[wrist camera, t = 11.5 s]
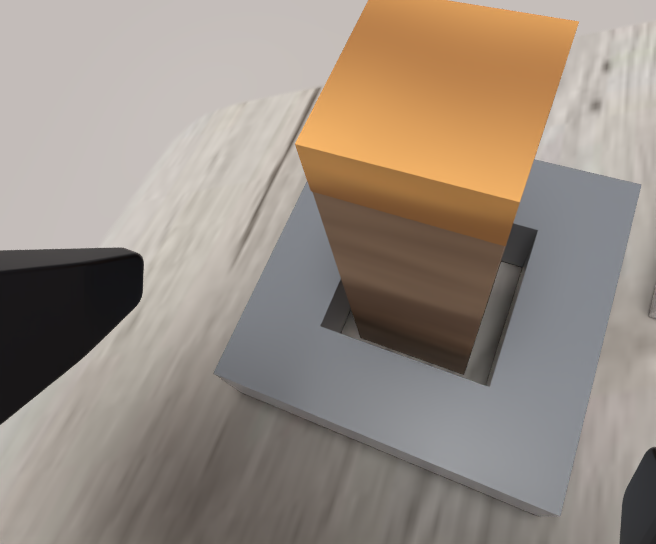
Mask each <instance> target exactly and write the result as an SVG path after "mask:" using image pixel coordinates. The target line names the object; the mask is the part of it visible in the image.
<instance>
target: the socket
mask: <svg viewBox="0 0 656 544" xmlns="http://www.w3.org/2000/svg"><path fill="white" fill-rule="evenodd" d="M640 189H641V184H637V183H632V182H628V181H624V180H620V179H615V178H611V177H607V176H603V175H598V174H594V173H590V172H586V171H581V170H577V169H573V168H569V167H564V166H560V165H556V164H552V163H547V162H543V161H539V160H535V159H534V161H533V164H532V167H531V171H530V174H529V177H528V180H527V183H526V186H525V189H524V192H523V195H522V198H521V201H520V204H519V207H518V210H517V213H516V216H515V219H514V222H513V225H512V228H511V232H510V235H509V238H508V241H507V244H506V247H505V250H504V253H503V257H502V260H501V261H503V262H507V263H510V264H514V265H517V266H520V267H523V268H522V271H521V274H520V278H519V281H518V284H517V287H516V290H515V294H514V297H513V300H512V303H511V306H510V310H509V313H508V316H507V319H506V322H505V326H504V329H503V332H502V335H501V338H500V342H499V345H498V348H497V351H496V355H495V358H494V361H493V364H492V367H491V371H490V374H489V377H488V380H487V383H486V386H485V385H482V384H479V383H477V382H474V381H471V380H468V379H465V378H463V377H460V376H457V375H454V374H452V373H449V372H446V371H443V370H440V369H438V368H435V367H432V366H429V365H427V364H424V363H421V362H418V361H415V360H413V359H410V358H407V357H404V356H402V355H399V354H396V353H393V352H390V351H388V350H385V349H382V348H379V347H377V346H374V345H371V344H368V343H365V342H363V341H360V340H357V339H354V338H352V337H349V336H346V335H343V334H340V333H341V331H342V329H343V326H344V324H345V321H346V319H347V317H348V314H349V312H350V309H351V307H350V304H349V301H348V298H347V295H346V292H345V289H344V286H343V283H342V280H341V277H340V274H339V271H338V268H337V265H336V262H335V259H334V256H333V253H332V250H331V247H330V244H329V241H328V238H327V235H326V232H325V229H324V226H323V222H322V219H321V216H320V213H319V210H318V207H317V204H316V201H315V198H314V195H313V192H312V191H311V190H310V187H309V184H308V181H307V182H306V184H305V186H304V188H303V191H302V193H301V195H300V197H299V199H298V201H297V203H296V205H295V207H294V209H293V211H292V213H291V215H290V217H289V219H288V221H287V223H286V225H285V227H284V229H283V232H282V234H281V236H280V238H279V240H278V242H277V244H276V246H275V248H274V250H273V252H272V254H271V256H270V258H269V260H268V262H267V264H266V266H265V268H264V270H263V272H262V275H261V277H260V279H259V281H258V283H257V285H256V287H255V289H254V291H253V293H252V295H251V297H250V299H249V301H248V303H247V305H246V307H245V309H244V311H243V313H242V316H241V318H240V320H239V322H238V324H237V326H236V328H235V330H234V332H233V334H232V336H231V338H230V340H229V342H228V344H227V346H226V348H225V350H224V352H223V354H222V357H221V359H220V361H219V363H218V365H217V367H216V369H215V371H214V374H215V375H216V376H218V377H219V378H221V379H222V380H224V381H225V382H227V383H228V384H229V385H231V386H232V387H234V388H235V389H237V390H238V391H239V392H241V393H244V394H246V395H249V396H251V397H253V398H256V399H258V400H261V401H263V402H265V403H268V404H270V405H273V406H275V407H277V408H280V409H282V410H285V411H287V412H289V413H292V414H294V415H297V416H299V417H301V418H304V419H306V420H309V421H311V422H313V423H316V424H318V425H321V426H323V427H325V428H328V429H330V430H333V431H335V432H337V433H340V434H342V435H345V436H347V437H349V438H352V439H354V440H357V441H359V442H361V443H364V444H366V445H369V446H371V447H373V448H376V449H378V450H381V451H383V452H385V453H388V454H390V455H393V456H395V457H397V458H400V459H402V460H404V461H407V462H409V463H412V464H414V465H416V466H419V467H421V468H424V469H426V470H428V471H431V472H433V473H436V474H438V475H440V476H443V477H445V478H448V479H450V480H452V481H455V482H457V483H460V484H462V485H464V486H467V487H469V488H472V489H474V490H476V491H479V492H481V493H484V494H486V495H488V496H491V497H493V498H496V499H498V500H500V501H503V502H505V503H508V504H510V505H512V506H515V507H517V508H520V509H522V510H524V511H527V512H529V513H532V514H534V515H536V516H561V512H562V508H563V503H564V499H565V495H566V491H567V487H568V483H569V479H570V475H571V471H572V467H573V463H574V458H575V454H576V450H577V446H578V442H579V438H580V434H581V430H582V426H583V422H584V418H585V414H586V409H587V405H588V401H589V397H590V393H591V389H592V385H593V381H594V377H595V373H596V369H597V364H598V360H599V356H600V352H601V348H602V344H603V340H604V336H605V332H606V328H607V324H608V320H609V315H610V311H611V307H612V303H613V299H614V295H615V291H616V287H617V283H618V279H619V275H620V270H621V266H622V262H623V258H624V254H625V250H626V246H627V242H628V238H629V234H630V230H631V226H632V221H633V217H634V213H635V209H636V205H637V201H638V197H639V193H640Z"/></svg>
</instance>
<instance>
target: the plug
mask: <svg viewBox="0 0 656 544" xmlns="http://www.w3.org/2000/svg"><path fill="white" fill-rule="evenodd" d="M578 23H579V22H578V21H572V20H566V19H560V18H553V17H547V16H541V15H535V14H529V13H522V12H516V11H510V10H504V9H498V8H491V7H485V6H479V5H472V4H466V3H460V2H454V1H448V0H368V2H367V4H366V6H365V8H364V10H363V12H362V14H361V16H360V18H359V20H358V22H357V24H356V26H355V27H354V29H353V31H352V33H351V35H350V37H349V39H348V41H347V43H346V45H345V47H344V49H343V51H342V53H341V55H340V57H339V59H338V61H337V63H336V65H335V67H334V69H333V71H332V72H331V75H330V76H329V78H328V80H327V82H326V84H325V86H324V88H323V90H322V92H321V94H320V96H319V98H318V100H317V102H316V104H315V106H314V108H313V110H312V112H311V114H310V116H309V118H308V119H307V121H306V123H305V125H304V127H303V129H302V131H301V133H300V135H299V137H298V139H297V141H296V143H295V146H296V149H297V152H298V155H299V157H300V160H301V163H302V166H303V169H304V172H305V175H306V178H307V181H308V184H309V187H310V190H311V191H312V192H313V195H314V198H315V201H316V204H317V207H318V210H319V213H320V216H321V219H322V222H323V226H324V229H325V232H326V235H327V238H328V241H329V244H330V247H331V250H332V253H333V256H334V259H335V262H336V265H337V268H338V271H339V274H340V277H341V280H342V283H343V286H344V289H345V292H346V295H347V298H348V301H349V304H350V307H351V310H352V313H353V317H354V320H355V323H356V326H357V329H358V332H359V335H360V338H363V339H365V340H368V341H371V342H374V343H377V344H379V345H382V346H385V347H388V348H391V349H393V350H396V351H399V352H402V353H405V354H407V355H410V356H413V357H416V358H419V359H421V360H424V361H427V362H430V363H433V364H435V365H438V366H441V367H444V368H447V369H449V370H452V371H455V372H458V373H460V374H463V375H464V373H465V370H466V367H467V364H468V361H469V358H470V355H471V351H472V348H473V345H474V342H475V339H476V336H477V333H478V330H479V327H480V324H481V321H482V318H483V315H484V312H485V309H486V306H487V303H488V300H489V297H490V294H491V291H492V287H493V284H494V281H495V278H496V275H497V272H498V269H499V266H500V263H501V260H502V257H503V253H504V250H505V247H506V244H507V241H508V238H509V235H510V232H511V228H512V225H513V222H514V219H515V216H516V213H517V210H518V207H519V204H520V201H521V198H522V195H523V192H524V189H525V186H526V183H527V180H528V177H529V174H530V171H531V167H532V164H533V161H534V158H535V155H536V152H537V149H538V146H539V143H540V140H541V137H542V134H543V131H544V128H545V125H546V122H547V119H548V116H549V113H550V110H551V107H552V104H553V100H554V97H555V94H556V91H557V88H558V85H559V82H560V79H561V76H562V73H563V70H564V67H565V64H566V61H567V57H568V54H569V51H570V48H571V45H572V42H573V39H574V36H575V33H576V29H577V26H578Z"/></svg>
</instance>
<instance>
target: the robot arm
mask: <svg viewBox="0 0 656 544" xmlns="http://www.w3.org/2000/svg"><path fill="white" fill-rule="evenodd" d="M143 271H144V261H143V258H142V256H141V255H140V254H138V253H136V252H134V251H131V250H128V249H126V248H85V249H43V250H7V251H6V250H3V251H0V425H1V424H2V423H3V422H4V421H6V420H7V419H8V418H9V417H11V416H12V415H13V414H14V413H16V412H17V411H18V410H19V409H21V408H22V407H23V406H24V405H26V404H27V403H28V402H29V401H31V400H32V399H33V398H34V397H36V396H37V395H38V394H39V393H40V392H42V391H43V390H44V389H45V388H47V387H48V386H49V385H50V384H52V383H53V382H54V381H55V380H57V379H58V378H59V377H60V376H62V375H63V374H64V373H65V372H67V371H68V370H69V369H70V368H71V367H73V366H74V365H75V364H76V363H78V362H79V361H80V360H81V359H82V358H83V357H85V356H86V355H87V354H88V353H89V352H90V351H91V350H92V349H93V348H94V347H95V346H96V345H97V344H98V343H99V342H100V341H101V340H102V339H103V338H104V337H105V336H107V335H108V334H109V333H110V332H111V331H112V330H113V329H114V328H115V327H116V326H117V325H118V324H119V323H120V322H121V321H122V320H123V319H124V318H125V317H126V316H127V315H128V314H129V313H130V312H131V311H132V310H133V309H134V308H135V307H136V306H137V305H138V303H139V302H140V300H141V297H142V293H143ZM620 544H656V447H652V448H650V449H649V450H648V451H647V452H646V453H645V455H644V457H643V459H642V460H641V462H640V464H639V466H638V468H637V470H636V471H635V473H634V475H633V477H632V479H631V481H630V483H629V484H628V486H627V488H626V491H625V494H624V497H623V503H622V515H621V530H620Z"/></svg>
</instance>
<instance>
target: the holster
mask: <svg viewBox="0 0 656 544" xmlns="http://www.w3.org/2000/svg"><path fill="white" fill-rule="evenodd" d="M649 317H652V318H655V319H656V285H655V290H654V294H653V299H652V303H651V308H650V313H649Z"/></svg>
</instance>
